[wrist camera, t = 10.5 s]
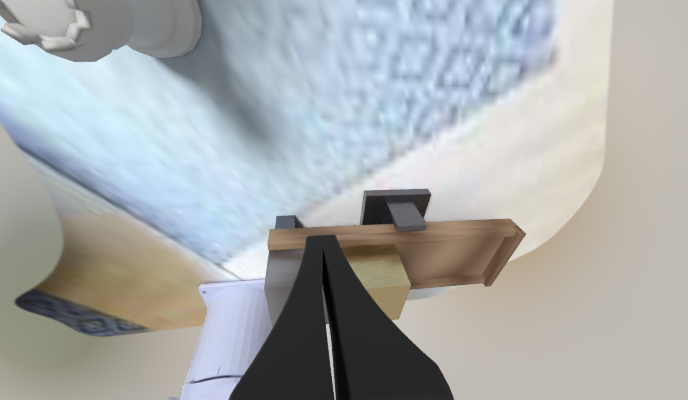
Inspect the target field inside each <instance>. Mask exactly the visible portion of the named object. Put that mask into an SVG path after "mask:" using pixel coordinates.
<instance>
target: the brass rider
mask: <svg viewBox="0 0 688 400" xmlns="http://www.w3.org/2000/svg"><path fill="white" fill-rule="evenodd" d="M341 249H342V251H343V253H344V255H345V257H346V259H347V261H348V262H349V264H350V266H351V267H352V269H353V271H354V272H355V274H356V276H357V277H358V279H359V280H360V282H361V283H362V285H363V286H364V287H365V289H366V290H367V292H368V293H369V294H370V296H371V297H372V298H373V299H374V301H375V302H376V303H377V305H378V306H379V307H380V308H381V309H382V311H383V312H384V313H385V314H386V315H387V316H388V317H389V318H390V319H391V320H396V319H399V317H400V314H401V311H402V309H403V306H404V303H405V300H406V298H407V295H408V292H409V289H410V287H411V284H410V281H409V279H408V276H407V274H406V271H405V269H404V267H403V264H402V262H401V259H400V257H399V254H398V252H397V249H396V247H395V245H394V244H383V245H366V246H350V247H341Z"/></svg>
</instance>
